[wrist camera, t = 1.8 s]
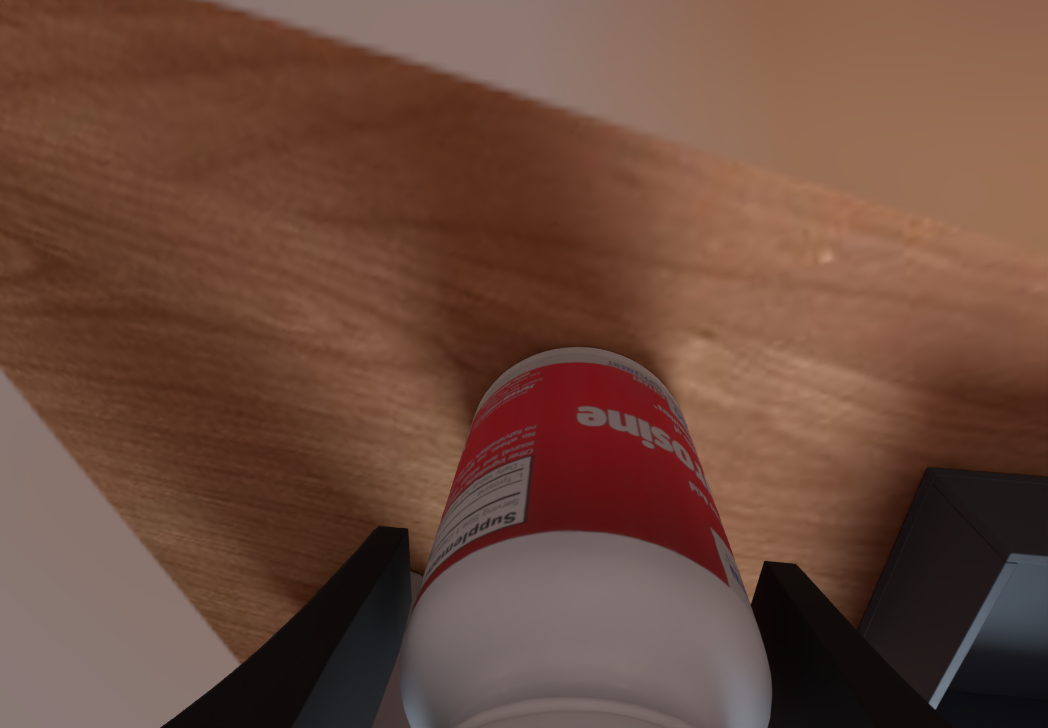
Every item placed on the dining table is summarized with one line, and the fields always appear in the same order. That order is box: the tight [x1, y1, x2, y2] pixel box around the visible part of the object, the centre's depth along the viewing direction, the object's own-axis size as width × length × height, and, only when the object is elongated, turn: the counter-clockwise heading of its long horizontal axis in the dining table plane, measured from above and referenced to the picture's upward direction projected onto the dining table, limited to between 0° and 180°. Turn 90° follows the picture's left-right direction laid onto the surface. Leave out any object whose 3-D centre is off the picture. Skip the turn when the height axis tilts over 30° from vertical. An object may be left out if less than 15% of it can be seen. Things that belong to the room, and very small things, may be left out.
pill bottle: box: [400, 347, 772, 728], centre depth 12 cm, size 6×6×11 cm
